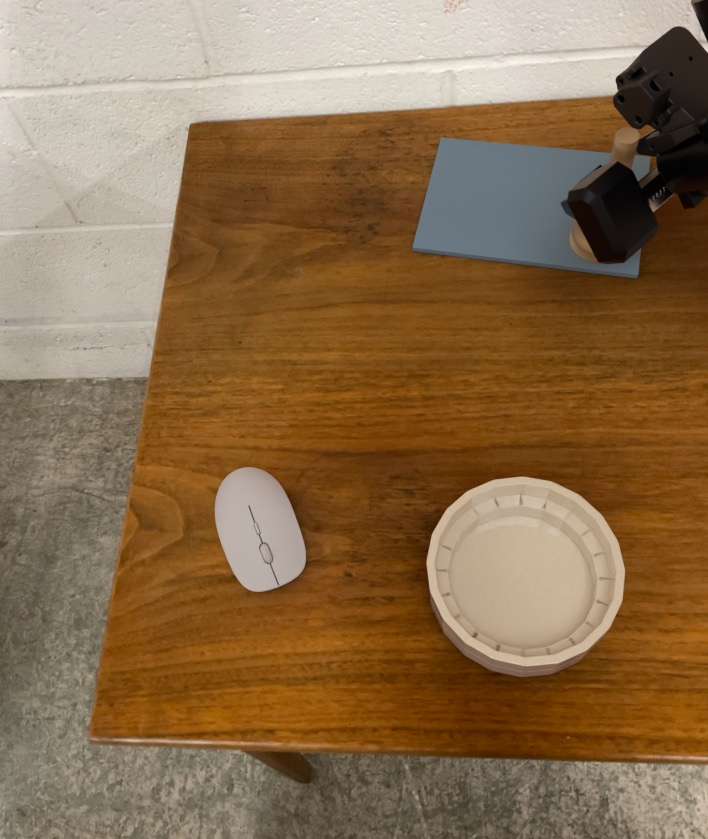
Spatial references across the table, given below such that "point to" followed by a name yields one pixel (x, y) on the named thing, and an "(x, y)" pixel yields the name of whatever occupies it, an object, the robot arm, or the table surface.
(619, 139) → the wooden stamp
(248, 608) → the table surface
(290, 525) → the computer mouse
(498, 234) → the mat
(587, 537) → the bowl
